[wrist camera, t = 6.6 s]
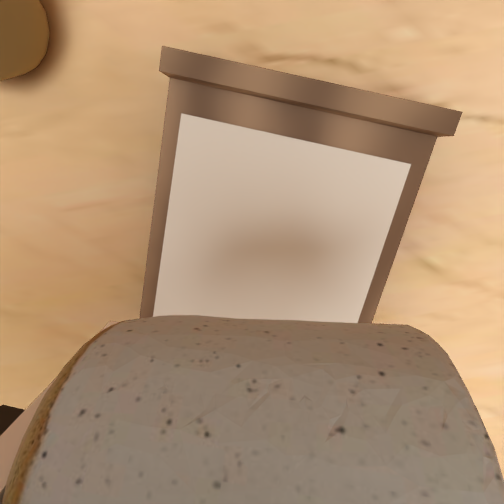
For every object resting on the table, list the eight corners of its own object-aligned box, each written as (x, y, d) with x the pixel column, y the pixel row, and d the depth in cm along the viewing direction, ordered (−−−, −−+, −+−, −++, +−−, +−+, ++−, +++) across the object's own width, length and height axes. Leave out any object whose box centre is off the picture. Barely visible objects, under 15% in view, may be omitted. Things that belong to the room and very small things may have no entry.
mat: (151, 329, 26) (150, 331, 25) (182, 113, 21) (181, 113, 21) (339, 372, 26) (340, 373, 25) (410, 164, 21) (411, 164, 21)
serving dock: (151, 319, 29) (125, 354, 24) (185, 66, 23) (162, 45, 18) (342, 362, 29) (355, 405, 24) (424, 119, 23) (462, 112, 18)
